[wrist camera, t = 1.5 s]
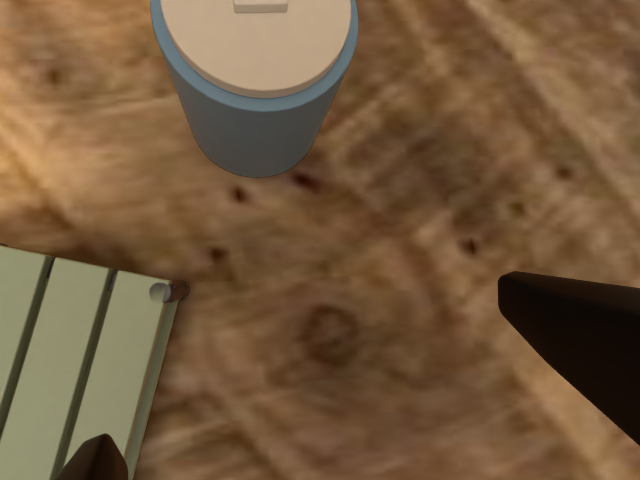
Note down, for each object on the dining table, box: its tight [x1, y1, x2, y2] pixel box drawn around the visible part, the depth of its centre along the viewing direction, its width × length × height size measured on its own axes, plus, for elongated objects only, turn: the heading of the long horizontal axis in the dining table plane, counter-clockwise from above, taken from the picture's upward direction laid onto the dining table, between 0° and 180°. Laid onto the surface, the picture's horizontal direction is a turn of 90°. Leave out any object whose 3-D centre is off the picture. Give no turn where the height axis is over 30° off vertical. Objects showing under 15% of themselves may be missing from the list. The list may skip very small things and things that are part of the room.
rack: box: [0, 243, 189, 480], centre depth 16 cm, size 9×13×4 cm
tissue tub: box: [150, 0, 358, 178], centre depth 17 cm, size 7×7×9 cm
